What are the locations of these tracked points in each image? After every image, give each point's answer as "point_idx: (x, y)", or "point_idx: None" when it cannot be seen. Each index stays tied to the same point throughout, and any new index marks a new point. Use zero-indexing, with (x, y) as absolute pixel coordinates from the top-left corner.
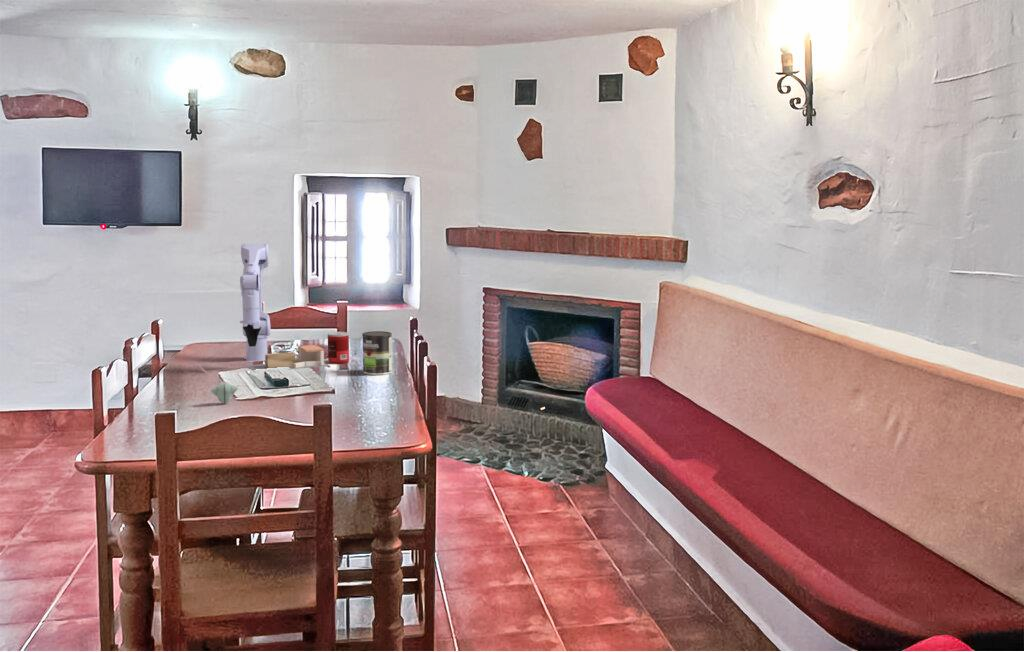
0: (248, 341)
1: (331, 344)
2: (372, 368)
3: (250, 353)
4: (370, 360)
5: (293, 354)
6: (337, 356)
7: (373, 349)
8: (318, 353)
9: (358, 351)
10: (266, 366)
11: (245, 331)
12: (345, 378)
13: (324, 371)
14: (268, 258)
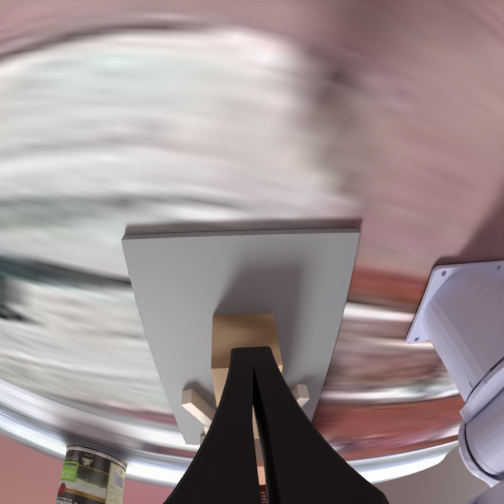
0: (244, 382)
1: None
2: (65, 459)
3: (470, 297)
4: (63, 474)
5: None
6: None
7: (57, 495)
8: None
9: (357, 468)
10: (251, 316)
11: (284, 483)
12: (31, 413)
13: (123, 420)
14: None
